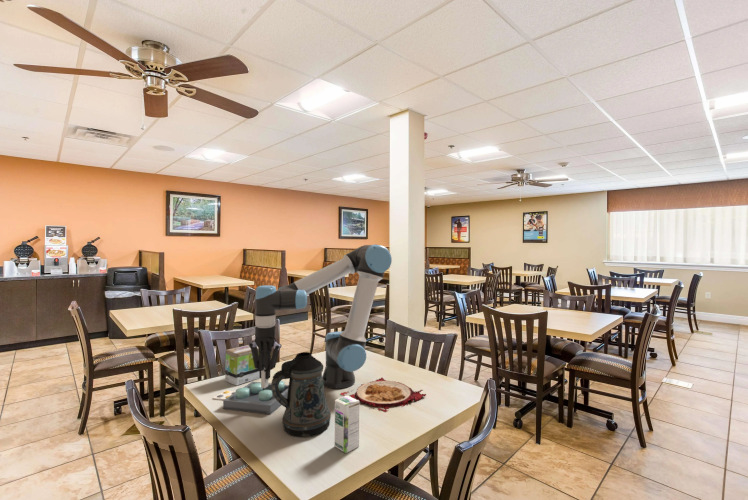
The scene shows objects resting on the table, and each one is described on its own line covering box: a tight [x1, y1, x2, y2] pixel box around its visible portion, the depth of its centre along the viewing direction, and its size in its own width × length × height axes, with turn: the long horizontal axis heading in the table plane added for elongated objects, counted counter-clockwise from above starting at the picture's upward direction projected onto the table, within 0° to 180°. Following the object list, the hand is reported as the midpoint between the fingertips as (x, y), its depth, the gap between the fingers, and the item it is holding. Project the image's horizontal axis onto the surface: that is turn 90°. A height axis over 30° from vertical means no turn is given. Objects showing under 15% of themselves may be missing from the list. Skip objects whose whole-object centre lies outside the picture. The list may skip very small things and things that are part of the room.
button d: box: [235, 387, 249, 399], centre depth 141 cm, size 5×5×2 cm
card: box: [212, 389, 236, 401], centre depth 149 cm, size 8×8×1 cm
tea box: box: [224, 344, 265, 387], centre depth 169 cm, size 15×10×15 cm
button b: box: [259, 390, 272, 402], centre depth 138 cm, size 5×5×2 cm
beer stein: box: [270, 351, 332, 438], centre depth 123 cm, size 16×19×25 cm
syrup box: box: [333, 395, 360, 454], centre depth 111 cm, size 6×6×14 cm
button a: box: [278, 380, 285, 391], centre depth 148 cm, size 5×5×2 cm
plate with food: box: [340, 377, 427, 413], centre depth 149 cm, size 25×26×4 cm
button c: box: [250, 383, 263, 394], centre depth 151 cm, size 5×5×2 cm
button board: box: [222, 381, 289, 415], centre depth 145 cm, size 20×20×3 cm
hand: (264, 386), depth 138 cm, fingers closed
